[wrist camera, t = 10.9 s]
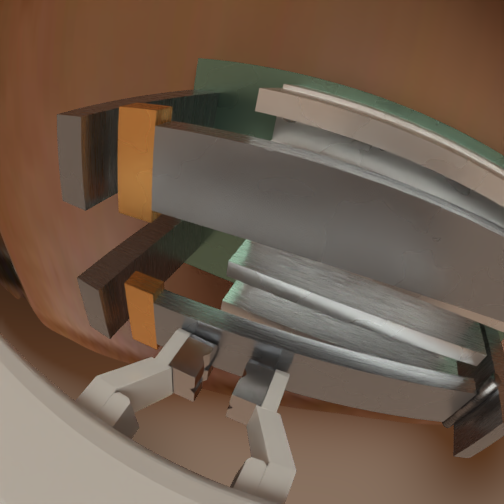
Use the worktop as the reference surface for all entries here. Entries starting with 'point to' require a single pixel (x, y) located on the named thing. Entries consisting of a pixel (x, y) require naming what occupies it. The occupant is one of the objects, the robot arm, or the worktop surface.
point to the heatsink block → (293, 266)
